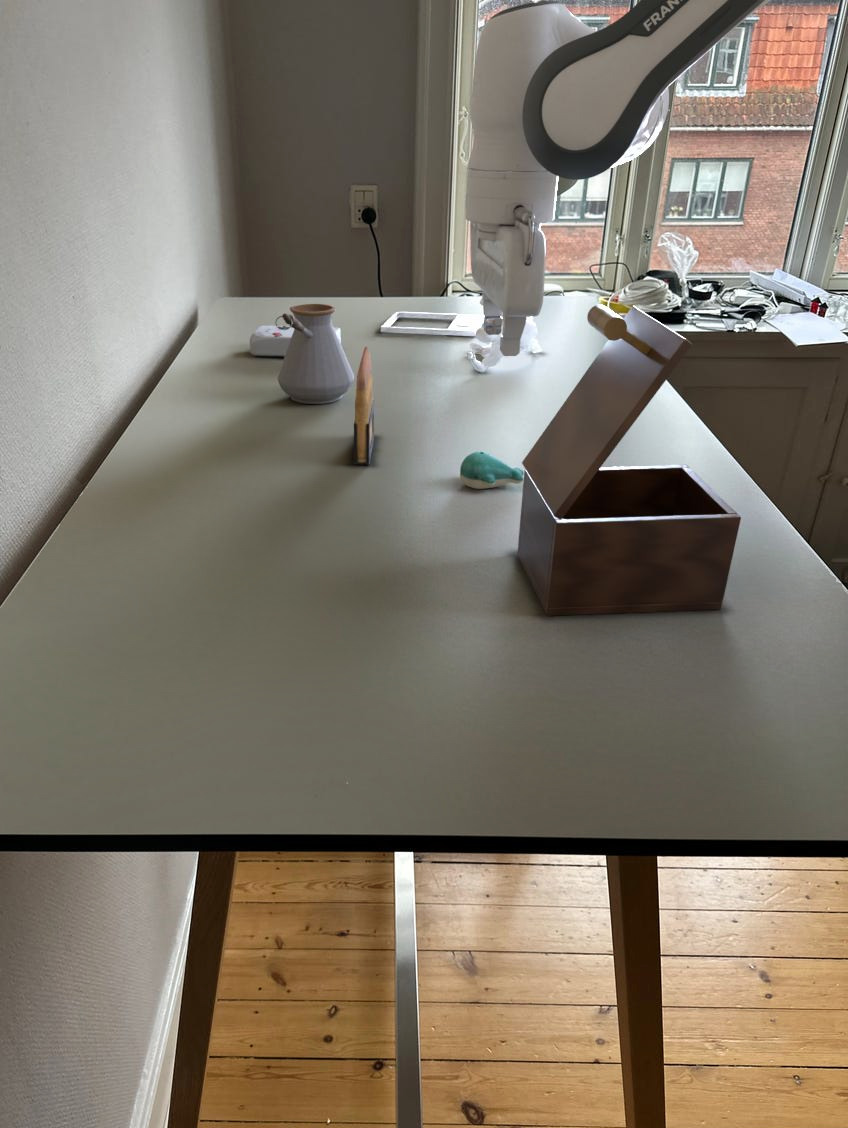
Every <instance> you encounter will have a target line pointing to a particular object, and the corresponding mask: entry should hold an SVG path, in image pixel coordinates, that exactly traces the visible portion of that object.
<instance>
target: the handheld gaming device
mask: <svg viewBox="0 0 848 1128" xmlns="http://www.w3.org/2000/svg"><path fill="white" fill-rule="evenodd" d="M277 326H278V327H279V328H281V329H287V328H289V327H290V325H277ZM277 326H276V325H260V326H259V327H257V328H256V329H255V330H254V331H253V332H252V334H251V335H250V338H249V348H250V354H252V356H255V357H280V358H281V357H283V358H284V357H285V354H286V352H287V349H288V346H289V343H290V340H291V337H292V334H293V332H294V328H292V327H290V328H289V329H287V330H281V329H279V328H278V327H277ZM334 330H335V332H336V334H337V337H338V339H339V341H340V344H342V341H341V340H342V339H341V328H340V327H334Z"/></svg>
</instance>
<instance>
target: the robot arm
mask: <svg viewBox="0 0 848 1128" xmlns="http://www.w3.org/2000/svg"><path fill="white" fill-rule="evenodd" d="M771 1H772V0H640V1H638V2H637V3H636V4H635V5H634V6H633V7H631V9H629V10H628V11H627V12H626V13H625V14H623V15H622V16H621V17H620V18H618V19H617V20H615V21H614V22H612V23H611V24H609V25H607V26H605V27H603V28H601V29H598V30H595V29H594V28H592V27H590V26H589V25H587V24H586V23H584V22H583V21H581V20H580V19H579V18H577V16H575V15H574V14H572V12H571V11H570V10H569V8H568V7H567V6H566V5H565V4H564V3H562V2H558V1H556V0H540V1H537V2H527V3H523V4H522V3H521V4H518V5H514V6H510V7H508V8H505V9H503V10H500V11H499V12H497V13H495V14H494V15H492V16H491V17H489V19H488V20H487V21H486V23H485V24H484V26H483V28H482V30H481V32H480V36H479V39H478V44H477V47H476V48H477V49H476V55H475V61H474V68H473V77H472V89H471V101H470V102H471V103H470V123H471V127H472V134H473V135H472V136H473V139H472V148H471V152H470V155H469V159H468V162H467V176H466V177H467V178H466V195H465V216H464V217H465V220H467V221H468V222H469V239H470V241H469V243H470V244H469V245H470V248H469V249H470V270H471V277H472V282H474V283H475V285H476V286H477V287H478V288H479V289H480V290H481V291H482V295H481V299H482V300H483V305H482V309H483V315H484V322H483V327H484V328H483V329H484V331H485V332H486V333H487V334H488V335H499V334H500V333H501V331H502V317H501V312H503V321H504V322H503V331H502V335H501V336H500V351H501V353H502V354H503V355H504V356H509V357H517V356H518V355H520V354H519V351H520V340H521V336H522V333H523V330H524V327H525V324H526V317H532V318H533V317H538V316H539V315H540V313H541V311H542V308H543V304H544V296H545V295H544V292H545V278H546V255H547V253H546V252H547V250H546V247H547V246H546V237H545V234H544V232H543V231H542V230H541V226H542V225H543V224H549V223H551V222H553V221H554V220H555V211H556V201H557V191H558V182H559V178H562V179H566V180H573V181H580V180H581V181H582V180H587V179H590V178H594V177H596V176H600V175H601V174H604V173H605V172H606V171H608V170H609V169H610V168H614V167H616V166H618V165H622V164H624V163H626V162H629V161H631V160H633V159H634V158H637V157H639V155H641V154H643V153H644V152H645V151H646V150H647V149H649V147H650V146H652V144H653V143H654V142H655V141H656V140H657V139H658V137H659V135H660V134H661V132H662V131H663V129H664V126H665V124H666V122H667V118H668V116H669V111H670V105H671V92H670V86H671V85H672V84H673V83H674V82H675V81H676V80H677V79H679V78H680V77H681V76H682V75H684V73H686V72H687V71H688V70H689V69H690V68H691V67H692V66H693V65H695V64H696V63H697V62H698V61H699V60H700V59H701V58H703V57H704V56H705V55H706V54H707V53H708V52H710V51H711V50H712V49H713V48H715V46H716V45H718V44H719V43H720V42H721V41H722V40H723V39H724V38H725V37H726V36H728V35H729V34H731V32H733V30H735V29H736V28H737V27H738V26H740V25H741V24H742V23H743V22H744V21H745V20H746V19H747V18H748V17H750V16H751V15H753V14H754V13H756V11H758V10H759V9H761V8H762V7H764V6H765V5H766V4H768V3H770V2H771Z"/></svg>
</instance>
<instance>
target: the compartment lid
mask: <svg viewBox="0 0 848 1128" xmlns="http://www.w3.org/2000/svg"><path fill="white" fill-rule="evenodd" d="M586 318H587V322H588V324H589V325H590V326H591V327H592V328H594V330H596V331H597V332H599V333H600V334H601V335H602V336H604V337H605V338H606V339H607V341H606V342H605V344H604V346H603V347H602V348H601V350H600V351H599V353H598V354H597V356H596V357H595V359H594V360H593V361H592V363H591V364H590V365H589V367H587V369H586V371H585V373H584V374H583V375H582V377H581V378H580V379H579V381H578V382H577V384H576V385H575V387H574V388H573V389H572V390H571V392H570V394H569V395H568V396H567V398H566V400H565V401H564V402H563V403H562V405H561V407H560V408H559V409H558V411H557V413H556V414H555V415H554V417H553V418H552V419H551V420H550V422H549V423H548V425H547V426H546V427H545V429H544V430H543V432H542V433H541V434H540V436H539V438H538V439H537V440H536V442H535V443H534V445H532V447H531V449H530V450H529V451H528V453H527V455H526V456H525V457H524V459H523V460H522V462H521V464H522V465H523V468H524V470H526V471H527V472H528V474H529V476H530V477H531V479H532V481H533V482H534V484H535V485H536V487H537V489H538V490H539V492H540V494H541V495H542V497H543V499H544V500H545V502H546V504H547V505H548V507H549V509H550V510H551V512H552V514H553V515H554V516H555V517H557V518H558V519H560V520H561V519H562V518H563V517H564V515H565V514H566V513H567V511H568V510H569V509H570V507H571V506H572V505H573V503H574V502H575V501H576V499H577V498H578V497H579V495H580V494H581V493H582V491H583V490H584V489H585V487H586V486H587V485H588V483H589V482H590V481H591V479H592V478H593V477H594V475H595V474H596V473H597V471H598V470H599V469H600V467H603V465H604V463H605V462H606V461H607V459H608V458H609V457H610V456H611V454H612V453H613V452H614V451H615V448H617V446H618V445H619V443H620V442H621V441H622V440H623V438H624V437H625V436H626V434H627V433H628V431H629V430H630V429H631V428H632V426H633V425H634V423H635V422H636V421H637V420H638V418H639V417H640V415H641V414H642V413H643V412H644V410H645V409H646V408H647V406H648V405H649V403H650V402H651V401H652V399H653V398H654V397H655V396H656V394H657V393H658V391H659V390H660V389H661V387H662V386H663V385H664V383H665V382H666V381H667V380H668V379H669V377H670V376H671V375H672V373H673V372H674V370H675V369H676V368H677V366H678V365H679V363H680V362H681V361H682V360H683V358H684V357H685V356H686V354H687V353H688V352H689V350H690V349H691V347H692V346H693V343H692V342H691V341H689V340H688V339H687V338H685V337H684V336H682V335H680V334H679V333H677V332H676V331H674V330H672V329H671V328H669V327H668V326H666V325H665V324H663V323H661V322H660V321H658V320H657V319H655V318H653V317H652V316H650V315H649V314H647V313H645V312H644V311H642V310H641V309H640V308H637V307H636V306H635V305H632V306H631V308H630V309H629V310H628V312H627V313H626V314H625V316H624V318H623V317H622V316H620V315H619V314H617V313H615V312H614V311H613V310H611V309H610V308H609V307H607V306H606V305H603V304H595V305H593V306H592V307H591V308H590V309H589V311H588V312H587V317H586Z"/></svg>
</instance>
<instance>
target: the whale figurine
mask: <svg viewBox="0 0 848 1128" xmlns="http://www.w3.org/2000/svg"><path fill="white" fill-rule="evenodd" d="M459 477H460V480H461V482H462V483H463V484H464V485H466V486H467V487H469V488H472V489H477V490H482V489H483V490H484V489H492V488H497V487H502V486H506V485H509V484H515V485H518V484H521V483H523V482H524V471H523V470H522V468H519V467H511V466H510V465H508V464H506V463H505V462H504V461H502V460H500V459H499V458H497V457H495V456H493V455H491V454H489V453H488V452H485V451H483V450H478V451H474V452H471V453H469V454H467V456H465V458H464V459H463V460H462V462H461V464H460V471H459Z"/></svg>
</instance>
